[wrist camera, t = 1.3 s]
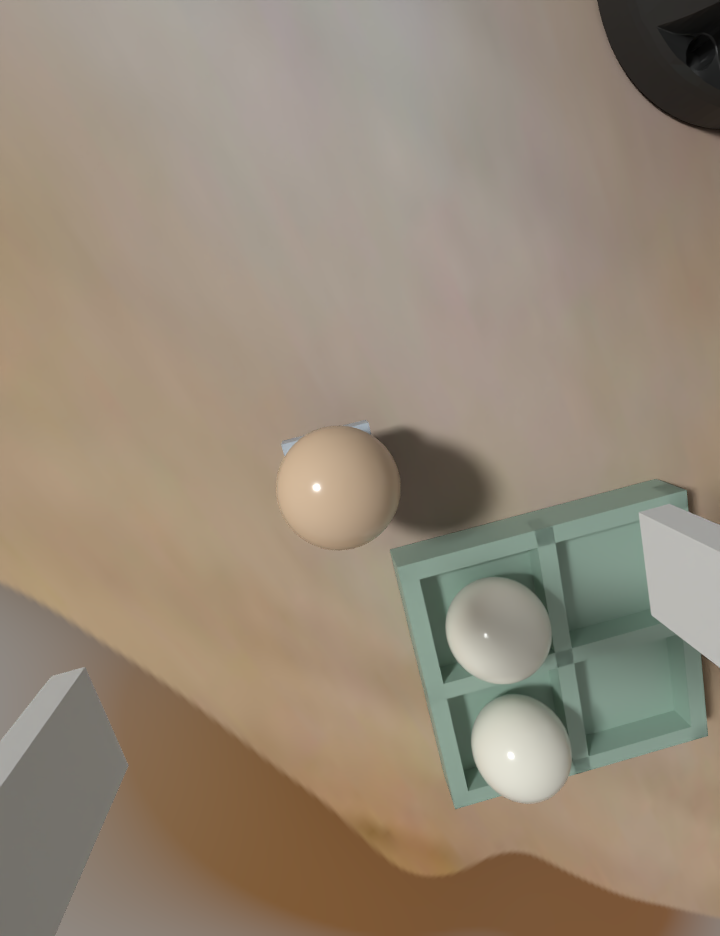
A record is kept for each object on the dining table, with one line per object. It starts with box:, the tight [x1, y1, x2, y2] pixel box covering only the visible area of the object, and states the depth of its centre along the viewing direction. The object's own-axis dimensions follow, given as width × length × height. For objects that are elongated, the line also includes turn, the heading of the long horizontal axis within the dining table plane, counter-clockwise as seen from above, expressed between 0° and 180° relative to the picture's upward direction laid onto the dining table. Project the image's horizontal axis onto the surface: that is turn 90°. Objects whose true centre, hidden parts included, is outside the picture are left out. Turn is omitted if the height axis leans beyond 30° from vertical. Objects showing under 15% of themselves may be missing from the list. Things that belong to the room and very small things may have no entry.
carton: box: [390, 479, 708, 809], centre depth 30 cm, size 16×16×2 cm
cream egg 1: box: [445, 577, 552, 684], centre depth 27 cm, size 5×5×5 cm
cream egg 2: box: [471, 694, 572, 804], centre depth 29 cm, size 5×5×5 cm
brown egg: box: [276, 426, 401, 550], centre depth 22 cm, size 5×5×5 cm
